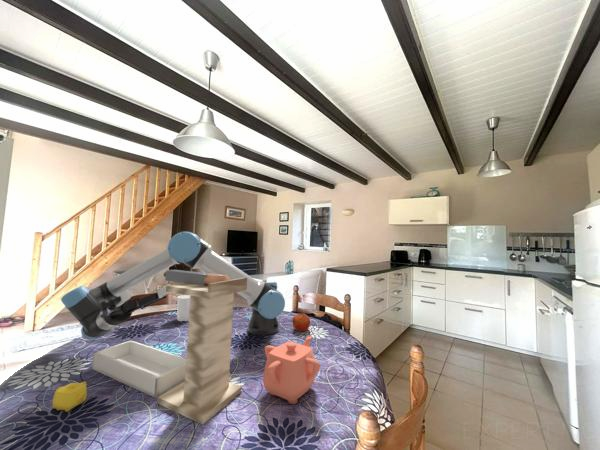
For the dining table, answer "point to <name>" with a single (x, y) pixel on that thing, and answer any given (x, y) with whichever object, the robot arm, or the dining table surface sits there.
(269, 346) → the teapot
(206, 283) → the grey long square-ended piece
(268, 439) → the dining table surface
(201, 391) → the wooden pedestal stand
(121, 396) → the dining table surface
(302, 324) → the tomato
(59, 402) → the toy block
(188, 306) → the candle holder
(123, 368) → the tray
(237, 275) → the robot arm
